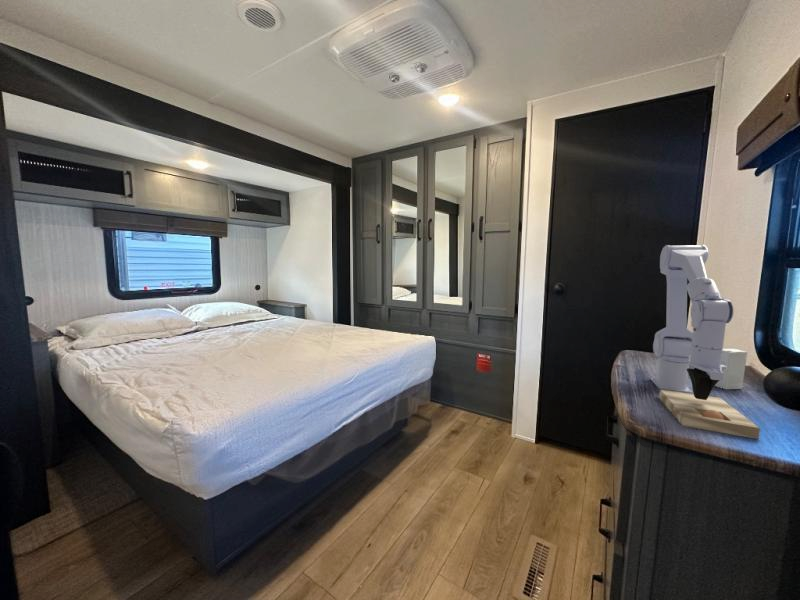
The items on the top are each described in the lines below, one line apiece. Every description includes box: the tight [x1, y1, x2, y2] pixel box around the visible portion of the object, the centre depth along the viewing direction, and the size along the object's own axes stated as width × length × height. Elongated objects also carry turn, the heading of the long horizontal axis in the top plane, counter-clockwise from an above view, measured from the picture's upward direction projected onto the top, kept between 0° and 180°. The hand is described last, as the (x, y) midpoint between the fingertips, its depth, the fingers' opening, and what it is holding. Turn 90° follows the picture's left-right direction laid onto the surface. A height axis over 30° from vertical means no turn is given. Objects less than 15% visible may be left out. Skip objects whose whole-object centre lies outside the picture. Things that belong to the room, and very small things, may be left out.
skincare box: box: [714, 348, 748, 390], centre depth 99 cm, size 6×4×12 cm
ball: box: [702, 410, 724, 420], centre depth 75 cm, size 4×4×4 cm
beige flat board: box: [658, 388, 761, 440], centre depth 80 cm, size 18×13×2 cm
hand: (700, 398), depth 82 cm, fingers closed
